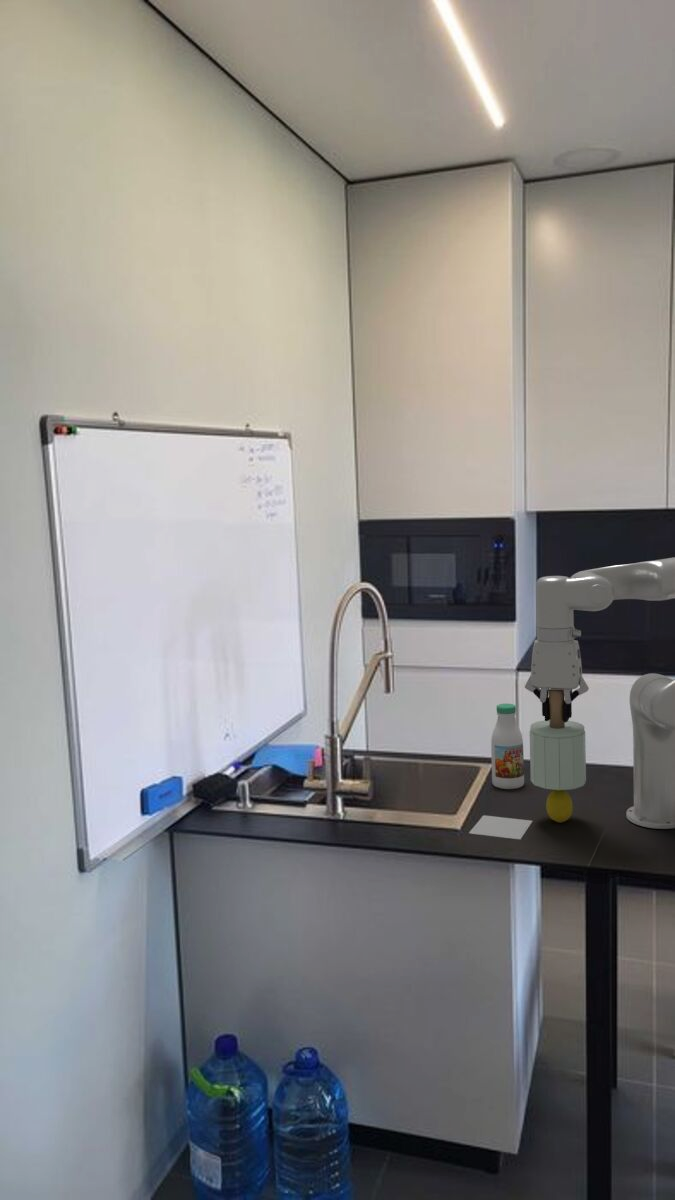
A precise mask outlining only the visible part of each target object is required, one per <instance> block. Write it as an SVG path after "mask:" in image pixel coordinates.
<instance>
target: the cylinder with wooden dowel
mask: <svg viewBox="0 0 675 1200" xmlns="http://www.w3.org/2000/svg"><path fill="white" fill-rule="evenodd" d="M548 697H549V721H545V720H540V721H539V720H538V721H535V722H534V723H533V722H532V724H530V729H529V758H530V759H529V763H530V764H529V765H530V766H529V767H530V768H529V769H530V770H529V771H530V782H531V783H532V784H533V785H534V786H536V787H538V788H542V789H545V790H564V791H566V790H567V791H568V790H575V789H578V788H582V787H583V786H585V784H586V782H587V766H586V765H587V764H586V763H587V761H586V759H587V758H586V755H587V754H586V751H587V750H586V747H587V746H586V730H585V726H584V725H585V724H582V723H580V722H578V721H573V720H568V721H567V722H563V703H564V700H565V697H564V690H563V689H549V696H548Z"/></svg>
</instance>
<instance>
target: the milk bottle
mask: <svg viewBox="0 0 675 1200" xmlns="http://www.w3.org/2000/svg"><path fill="white" fill-rule="evenodd" d="M516 711H517V707H516V705H515V704H514V703H513V704H512V703H499V704H497V705H496V715H497V719H496V723H495V726H494V728H493V730H492V734H491V739H490V740H491V742H490V743H491V744H490V745H491V751H490V752H491V780H492V781H491V783H492V785H493V786H494V787H496V788H498V789H502V790H514V789H520V788H521V787H523V786H524V785H525V767H524V766H525V762H524V761H525V760H524V741H523V734H522V732H521V729H520V727H519V725H518V723H517V720H516V714H517V713H516Z"/></svg>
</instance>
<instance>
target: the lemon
mask: <svg viewBox="0 0 675 1200" xmlns="http://www.w3.org/2000/svg"><path fill="white" fill-rule="evenodd" d="M573 807H574V806H573V799H572V797H571V795H570V793H568V792H567V791H566V790H554V789H552V790H551V791H550V792H549V794H548V795H547V798H546V804H545V809H546V812H547V815H548V817H549V818H550V819H551V820H552V821H554V822H557V823H564V822H566V821H568V820H569V819H570V818H571V816H572V814H573V810H574V809H573Z"/></svg>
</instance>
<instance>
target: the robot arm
mask: <svg viewBox="0 0 675 1200" xmlns="http://www.w3.org/2000/svg"><path fill="white" fill-rule="evenodd" d="M535 590H536V591H535V593H536V594H535V595H536V602H535V603H536V639H535V640H534V641H533V642H534V643H533V647H532V654H531V665H530V666H531V667H530V676H529V678H528V679H527V681H526V683H525V684H524V689H526V690H527V691H528V692H530V693H533V694H534V696H536V698H537V699H538V700H539V701H540V703H541V714H542V717H544V721H549V689H563V690H564V703H563V722H567V721H570V719H571V718H572V715H573V713H572V711H573V710H572V705H573V703H572V702H573V701H574V700H576V698H578V697H579V696H581V695H583V694H585V693H587V692H588V691H589V688H590V687H589V686H588V684H587V682H586V681H585V679H584V678H583V668H582V666H583V665H582V658H581V657H582V656H581V650H580V644H579V641H578V640H575V639H576V638H578V637H581V636H582V631H581V629H577V628H575V626H574V624H575V623H574V622H575V621H574V620H575V619H574V610H577V611H587V612H598V611H603V610H605V609H607V608H608V607H609V606H610V605H612V603H613V601H618V600H643V601H652V602H653V601H654V602H655V601H668V600H671V599H675V557H668V558H662V559H655V560H648V561H647V560H646V561H640V562H635V563H628V564H627V563H626V564H618V565H617V564H616V565H611V566H604V567H598V568H592V569H585V570H581V571H580V570H579V571H578V572H576V573H574V574H573V575H571V576H570V577H568V576H566V575H565V576H563V575H546V576H541V577H539V578H538V579H537V581H536V583H535ZM573 690H574V691H573ZM629 708H630V716H631V723H632V737H633V738H632V739H633V740H632V745H633V747H632V750H633V751H632V753H633V754H632V755H633V756H632V757H633V761H632V763H633V764H632V765H633V806H631V807H629V808H628V809H627V810H626V813H625V814H626V818H627V820H628V821H629V822H631V823H633V824H634V825H637V826H641V827H644V828H649V829H656V830H657V829H659V830H668V829H669V830H670V829H675V679H671V678H670V677H667V676H665V675H662V674H660V673H647V674H643V675H642V676H639V677H638V678H637V679H636V680H635V681H634V682H633V684H632V686H631V688H630V691H629Z"/></svg>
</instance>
